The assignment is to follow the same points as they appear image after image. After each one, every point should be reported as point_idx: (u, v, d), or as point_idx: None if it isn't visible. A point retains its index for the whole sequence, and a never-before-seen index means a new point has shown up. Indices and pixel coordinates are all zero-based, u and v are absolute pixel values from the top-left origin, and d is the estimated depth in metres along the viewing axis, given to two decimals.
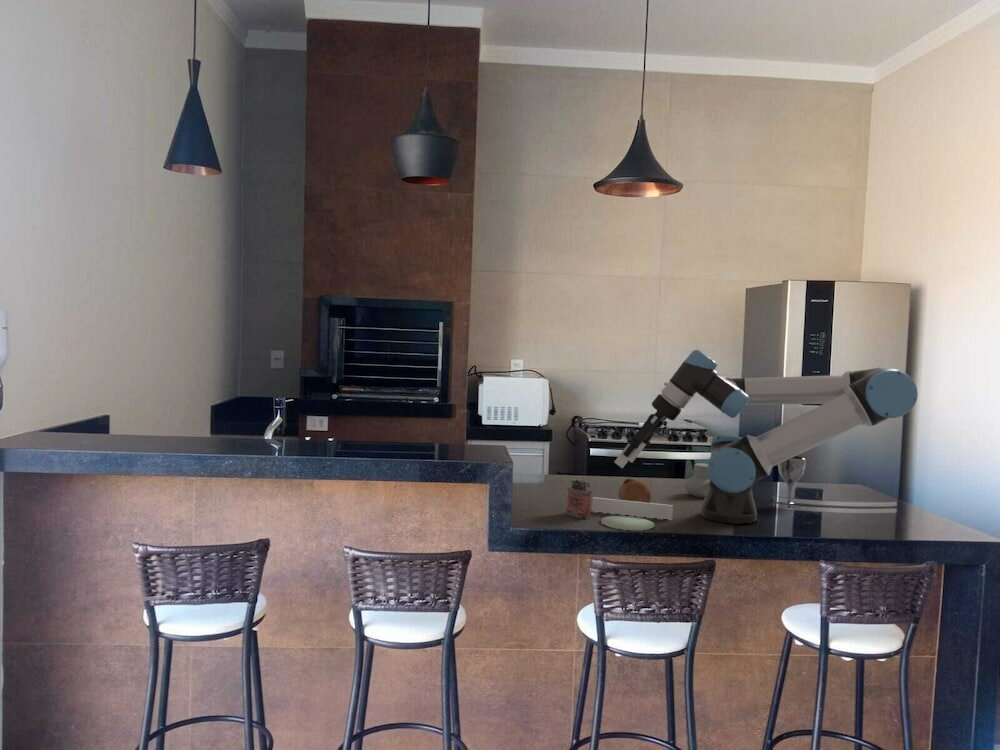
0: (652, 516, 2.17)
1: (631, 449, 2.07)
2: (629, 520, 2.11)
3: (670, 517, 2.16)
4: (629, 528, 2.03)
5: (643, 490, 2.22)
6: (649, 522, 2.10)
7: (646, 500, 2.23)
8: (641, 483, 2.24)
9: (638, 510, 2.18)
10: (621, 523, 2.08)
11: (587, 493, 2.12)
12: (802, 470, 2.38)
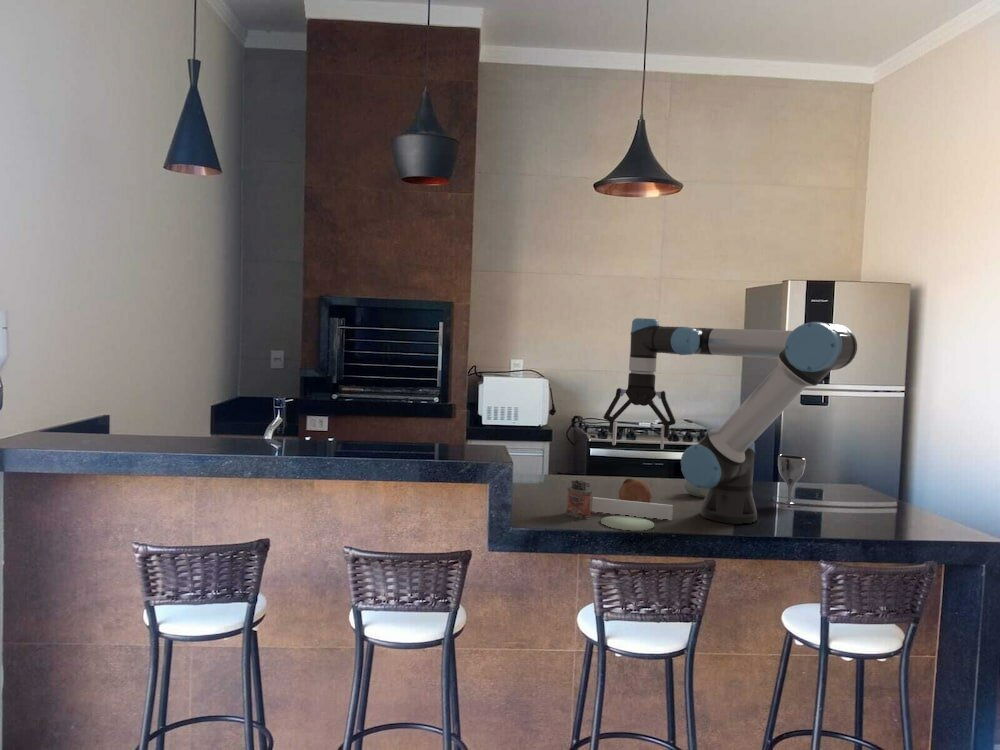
0: (652, 516, 2.17)
1: None
2: (629, 520, 2.11)
3: (670, 517, 2.16)
4: (629, 528, 2.03)
5: (643, 490, 2.22)
6: (649, 522, 2.10)
7: (646, 500, 2.23)
8: (641, 483, 2.24)
9: (638, 510, 2.18)
10: (621, 523, 2.08)
11: (587, 493, 2.12)
12: (802, 470, 2.38)
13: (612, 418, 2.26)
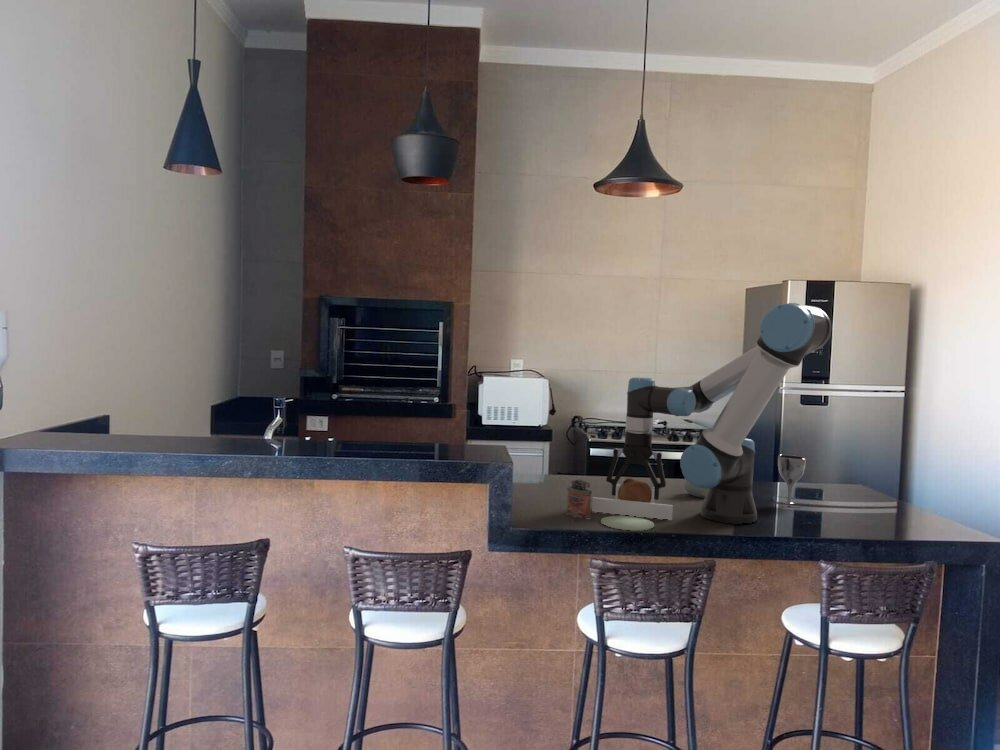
0: (652, 516, 2.17)
1: None
2: (629, 520, 2.11)
3: (670, 517, 2.16)
4: (629, 528, 2.03)
5: (643, 490, 2.22)
6: (649, 522, 2.10)
7: (646, 500, 2.23)
8: (641, 483, 2.24)
9: (638, 510, 2.18)
10: (621, 523, 2.08)
11: (587, 493, 2.12)
12: (802, 470, 2.38)
13: (614, 481, 2.27)
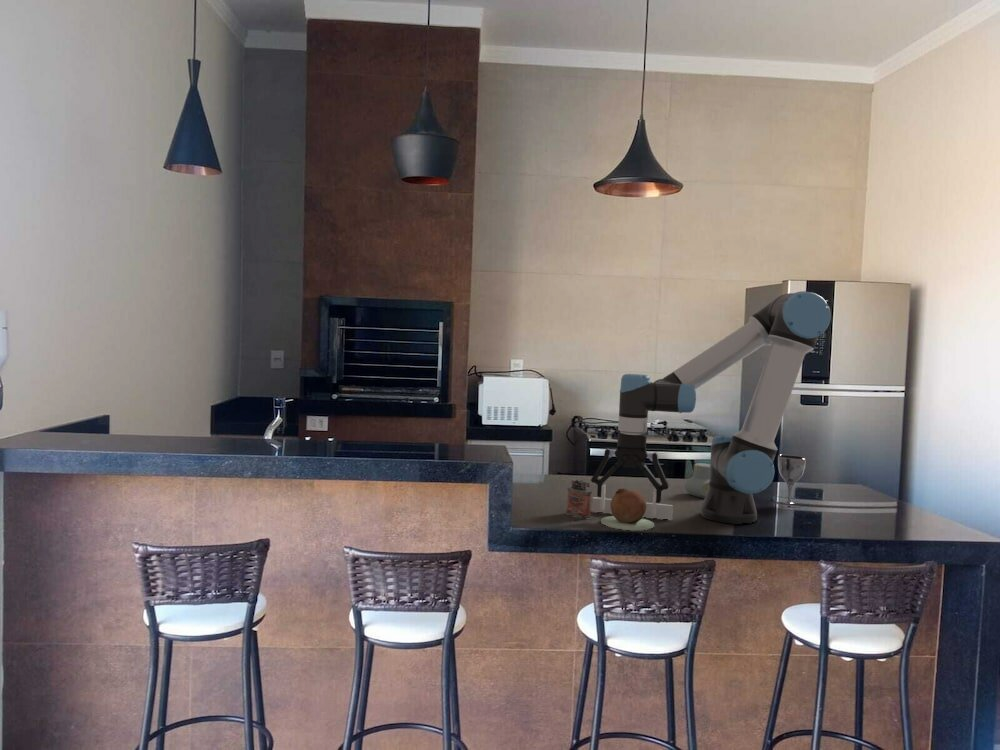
0: (652, 516, 2.17)
1: None
2: None
3: (670, 517, 2.16)
4: (629, 528, 2.03)
5: (636, 501, 2.05)
6: (649, 522, 2.10)
7: (640, 512, 2.05)
8: (635, 493, 2.06)
9: None
10: (621, 523, 2.08)
11: (587, 493, 2.12)
12: (802, 470, 2.38)
13: (600, 481, 2.10)
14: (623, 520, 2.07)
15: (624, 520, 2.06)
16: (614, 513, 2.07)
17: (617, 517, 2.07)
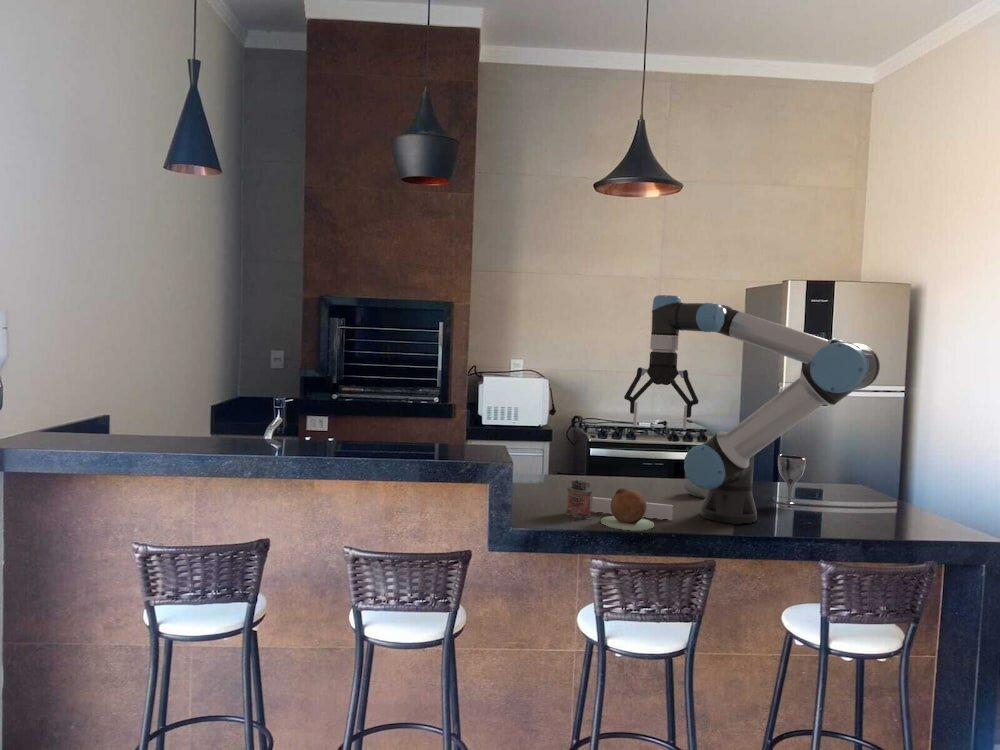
0: (652, 516, 2.17)
1: None
2: None
3: (670, 517, 2.16)
4: (629, 528, 2.03)
5: (636, 501, 2.05)
6: (649, 522, 2.10)
7: (640, 512, 2.05)
8: (635, 494, 2.06)
9: None
10: (621, 523, 2.08)
11: (587, 493, 2.12)
12: (802, 470, 2.38)
13: (633, 398, 2.20)
14: (623, 520, 2.07)
15: (624, 520, 2.06)
16: (614, 513, 2.07)
17: (617, 517, 2.07)
